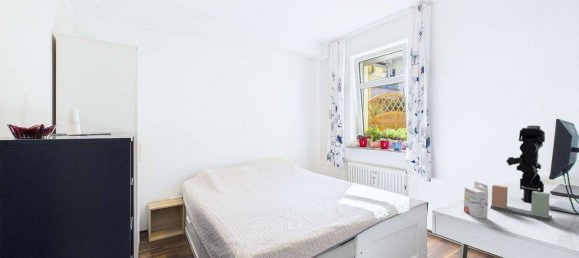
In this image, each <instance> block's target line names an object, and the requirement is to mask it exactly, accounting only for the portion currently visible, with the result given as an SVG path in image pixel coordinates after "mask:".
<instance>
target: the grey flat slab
mask: <svg viewBox="0 0 579 258" xmlns="http://www.w3.org/2000/svg"><path fill="white" fill-rule="evenodd" d="M490 209H493V210H497V211H501V212H504V213H505V212H506V213H511V214H514V215H518V216H523V217H527V218H531V219H537V220H541V221H545V222H550V221H551V220H552V219H551V218H553V217H552V215H550V214H549V217H548V218H545V217H540V216H536V215H531V210H527V209H522V208H517V207H514V206H508V205H507V208H505V209H504V208H500V207H495V206H492V204H491V205H490Z"/></svg>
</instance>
